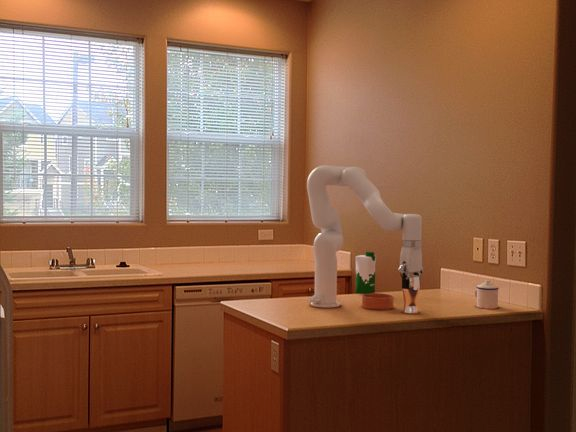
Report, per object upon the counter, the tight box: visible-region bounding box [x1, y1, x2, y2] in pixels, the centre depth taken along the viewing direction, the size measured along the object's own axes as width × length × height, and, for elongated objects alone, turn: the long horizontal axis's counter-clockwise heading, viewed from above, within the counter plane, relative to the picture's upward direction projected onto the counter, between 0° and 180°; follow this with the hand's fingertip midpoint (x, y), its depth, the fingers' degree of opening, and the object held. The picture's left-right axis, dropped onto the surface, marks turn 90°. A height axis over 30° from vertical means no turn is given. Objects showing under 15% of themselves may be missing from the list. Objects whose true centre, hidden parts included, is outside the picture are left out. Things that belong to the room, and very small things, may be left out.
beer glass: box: [402, 274, 421, 315], centre depth 268 cm, size 7×7×15 cm
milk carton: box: [354, 251, 377, 295], centre depth 318 cm, size 9×9×20 cm
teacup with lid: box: [474, 279, 499, 310], centre depth 283 cm, size 12×9×12 cm
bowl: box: [361, 292, 395, 311], centre depth 279 cm, size 13×13×5 cm
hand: (411, 287), depth 268 cm, fingers closed on beer glass, 7 cm apart
